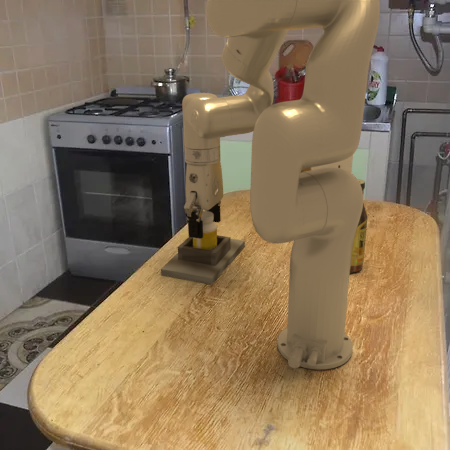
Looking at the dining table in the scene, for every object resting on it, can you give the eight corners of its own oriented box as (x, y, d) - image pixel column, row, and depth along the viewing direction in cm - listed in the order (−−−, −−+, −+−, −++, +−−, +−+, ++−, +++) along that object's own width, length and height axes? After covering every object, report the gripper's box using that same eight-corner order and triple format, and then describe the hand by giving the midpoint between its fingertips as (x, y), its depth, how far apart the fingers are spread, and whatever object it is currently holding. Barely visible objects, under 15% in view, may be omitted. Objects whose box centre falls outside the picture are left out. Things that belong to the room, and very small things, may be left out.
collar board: (212, 284, 115) (211, 265, 113) (160, 275, 119) (159, 256, 117) (244, 246, 132) (244, 229, 130) (199, 239, 136) (198, 222, 134)
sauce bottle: (363, 275, 118) (371, 187, 110) (333, 272, 119) (340, 185, 111) (362, 261, 124) (370, 177, 116) (334, 259, 125) (340, 175, 117)
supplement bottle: (221, 252, 125) (221, 212, 121) (208, 261, 121) (207, 220, 117) (202, 247, 128) (201, 208, 124) (188, 256, 124) (187, 215, 120)
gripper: (202, 166, 107) (204, 246, 113) (233, 145, 122) (234, 217, 128) (167, 163, 109) (172, 241, 116) (202, 143, 124) (205, 214, 131)
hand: (205, 229), depth 122 cm, fingers open, 9 cm apart
